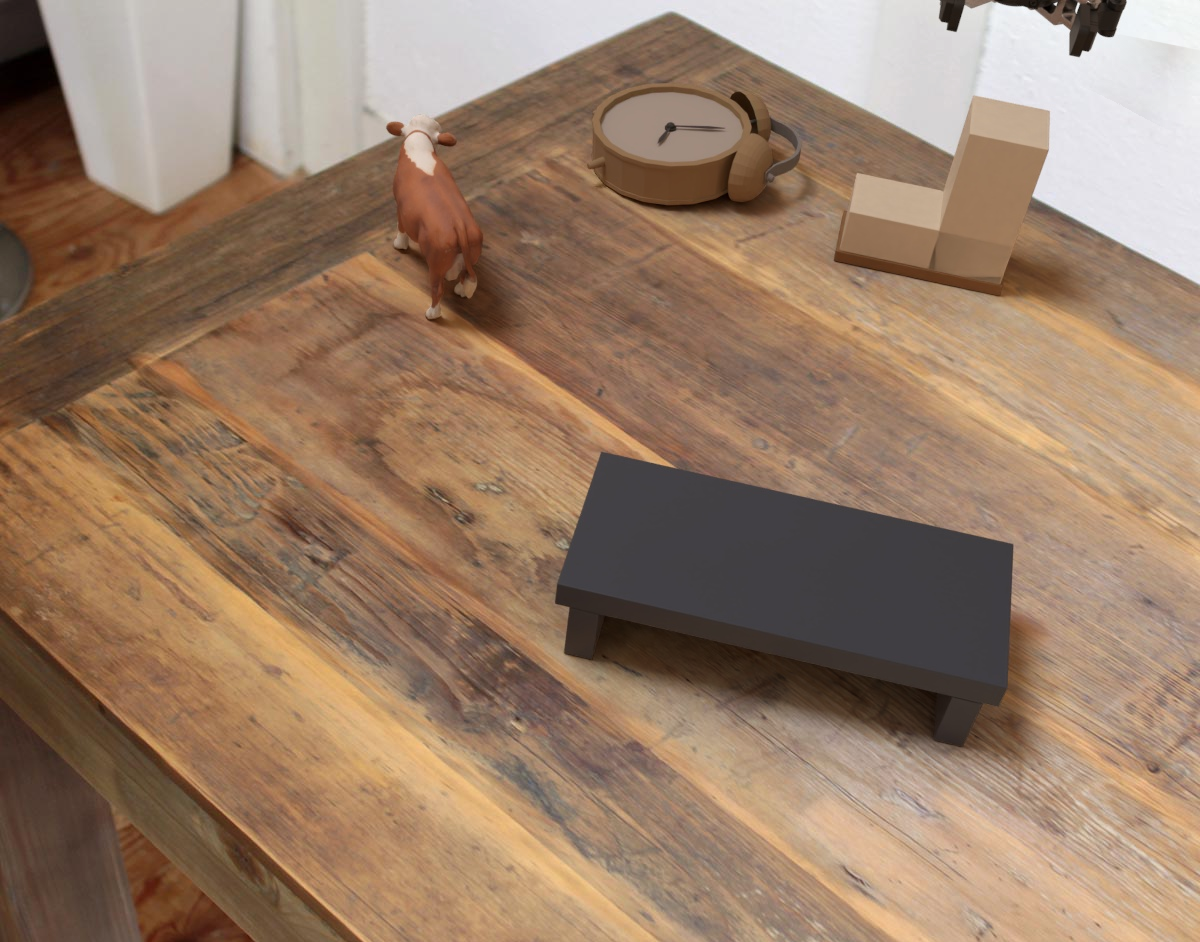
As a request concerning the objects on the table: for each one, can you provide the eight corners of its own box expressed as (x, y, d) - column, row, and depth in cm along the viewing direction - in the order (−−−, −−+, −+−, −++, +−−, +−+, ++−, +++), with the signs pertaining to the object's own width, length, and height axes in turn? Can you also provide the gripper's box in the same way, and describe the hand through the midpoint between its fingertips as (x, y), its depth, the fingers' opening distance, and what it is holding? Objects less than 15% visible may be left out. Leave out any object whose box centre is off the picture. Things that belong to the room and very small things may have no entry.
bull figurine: (443, 207, 101) (446, 97, 95) (487, 330, 92) (493, 217, 86) (379, 212, 100) (378, 100, 94) (418, 336, 91) (419, 223, 85)
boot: (1001, 253, 104) (1053, 110, 96) (999, 296, 100) (1052, 151, 92) (841, 219, 105) (879, 74, 96) (833, 260, 101) (871, 114, 93)
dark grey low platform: (985, 607, 80) (1014, 543, 77) (977, 750, 74) (1007, 688, 70) (592, 517, 82) (601, 450, 78) (549, 650, 75) (556, 583, 72)
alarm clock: (592, 79, 108) (799, 69, 107) (597, 140, 112) (797, 131, 110) (583, 162, 101) (806, 152, 99) (589, 225, 104) (804, 216, 103)
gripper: (944, -137, 110) (929, -44, 99) (1136, -100, 108) (1142, -1, 98) (917, -38, 115) (900, 61, 104) (1100, -1, 114) (1102, 102, 103)
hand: (1017, 31), depth 101 cm, fingers open, 8 cm apart
